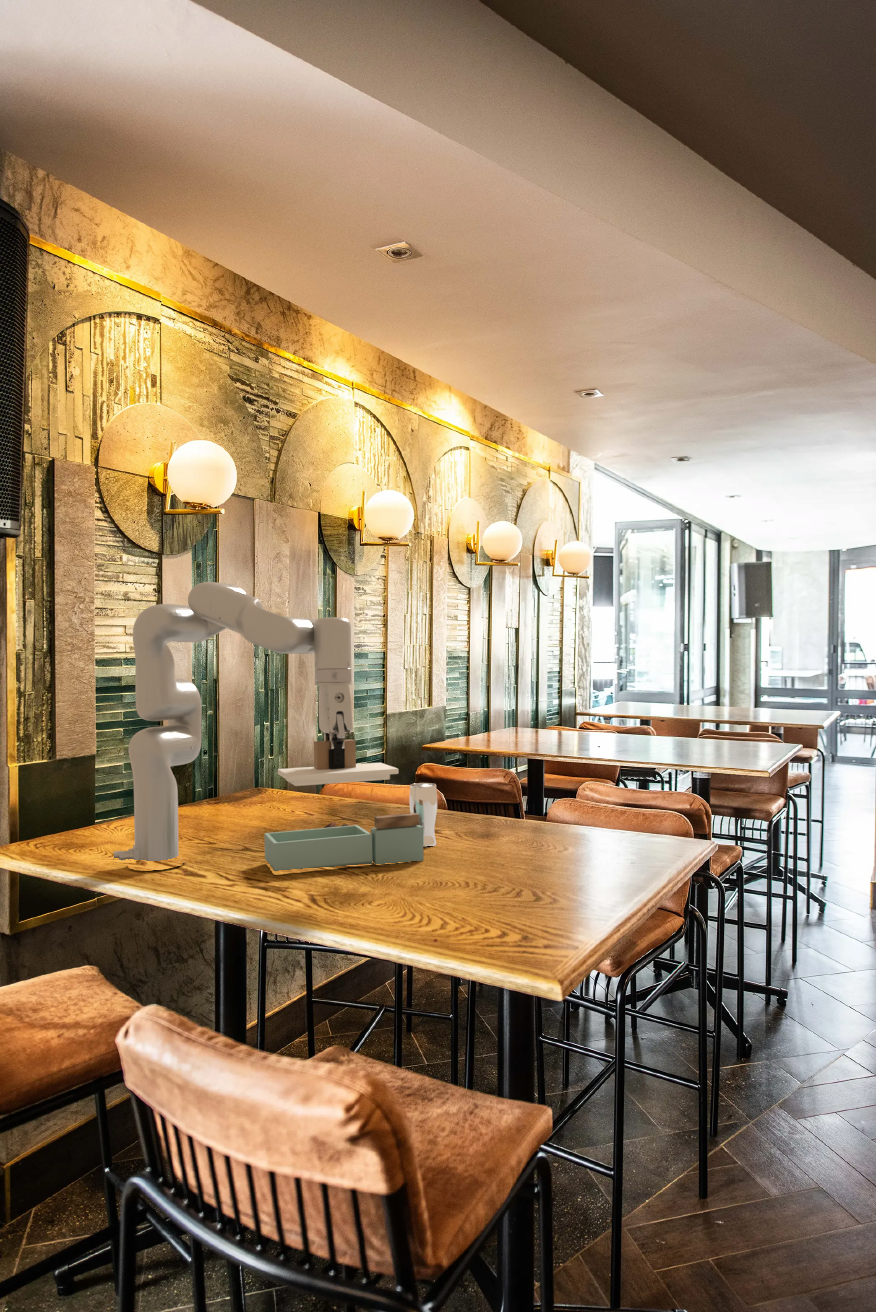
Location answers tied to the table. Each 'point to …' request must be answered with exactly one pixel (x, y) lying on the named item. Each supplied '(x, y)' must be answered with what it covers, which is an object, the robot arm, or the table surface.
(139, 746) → the robot arm
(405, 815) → the brown rectangular block
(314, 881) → the table surface
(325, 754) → the lid
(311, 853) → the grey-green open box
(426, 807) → the beer glass
